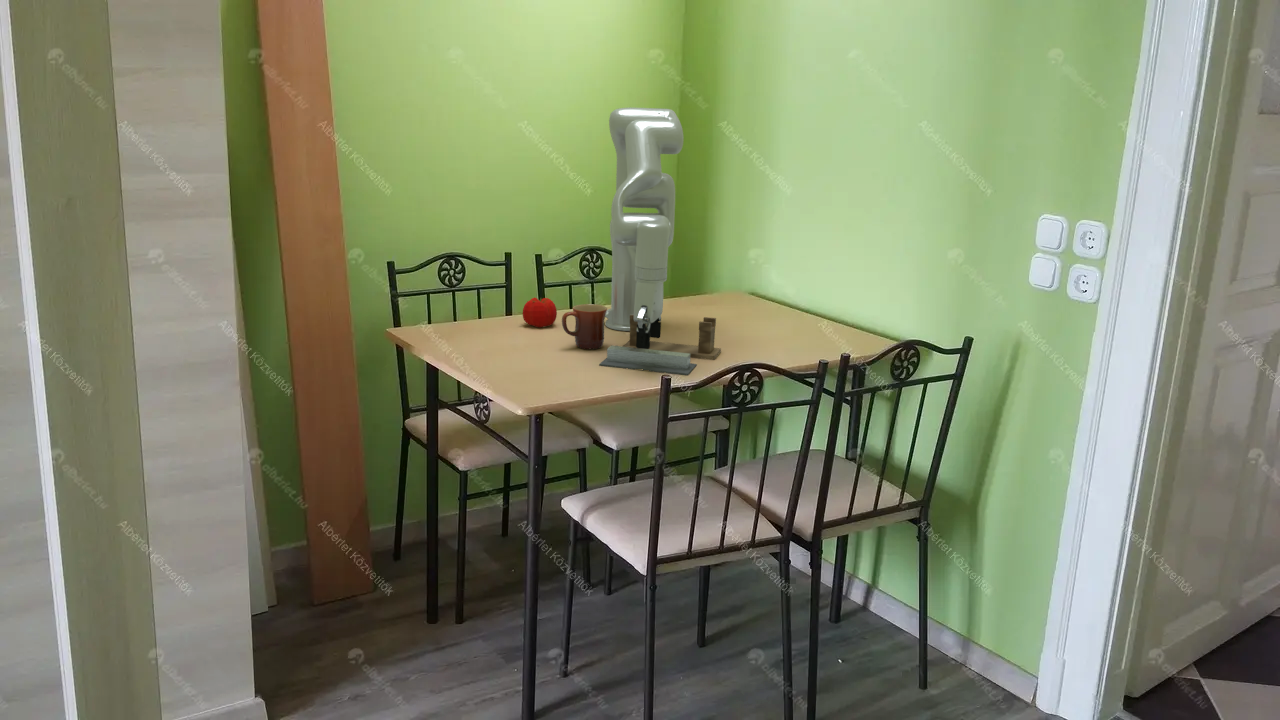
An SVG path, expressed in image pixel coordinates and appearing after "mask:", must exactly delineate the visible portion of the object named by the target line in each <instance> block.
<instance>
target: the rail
mask: <svg viewBox="0 0 1280 720" xmlns="http://www.w3.org/2000/svg"><path fill="white" fill-rule="evenodd" d="M622 346H623V345H620V346H619V345H613V344H612V345H609V347H607V349H606V351H607V352H606V358H607V361H610V362H619V363H628V364H637V365H646V366H655V367H665V368H674V369H683V370H687V369H688V368H689V367H690V363H691V357H690V356H691V354H689V353H679V352H670V351H660V350H651V349H641V348H632V347H622Z"/></svg>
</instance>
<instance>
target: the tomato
mask: <svg viewBox="0 0 1280 720" xmlns="http://www.w3.org/2000/svg"><path fill="white" fill-rule="evenodd" d="M557 314H558V311H557V306H556V304H555V302H554V301H553V300H551V298H548V297H543V298H542V297H540V298H539V299H538V298H537V297H532V298H531V299H530V300H528V301H527V302H526V303H525V304H524V305H523V308H522V318H523V321H524V322H525V323H526V324H527V325H529V326H533V327H535V328H539V329H540V328H545V327H549V326H552V325H553V324H554V323H555V321H556V319H557V316H558V315H557Z"/></svg>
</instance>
